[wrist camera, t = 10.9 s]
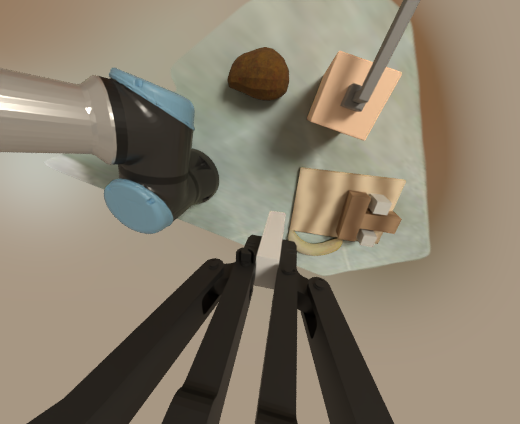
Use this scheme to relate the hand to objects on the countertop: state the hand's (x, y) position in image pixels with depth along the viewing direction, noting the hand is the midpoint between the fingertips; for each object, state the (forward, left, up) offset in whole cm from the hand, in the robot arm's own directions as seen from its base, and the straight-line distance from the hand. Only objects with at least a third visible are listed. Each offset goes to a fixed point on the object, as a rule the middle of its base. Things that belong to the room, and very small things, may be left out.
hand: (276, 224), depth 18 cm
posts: (+22, -12, -31) cm, 40 cm away
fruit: (+11, -23, -33) cm, 41 cm away
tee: (+21, -12, -31) cm, 40 cm away
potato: (-8, +16, -33) cm, 37 cm away
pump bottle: (+8, +14, -33) cm, 36 cm away
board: (+15, -11, -32) cm, 37 cm away
